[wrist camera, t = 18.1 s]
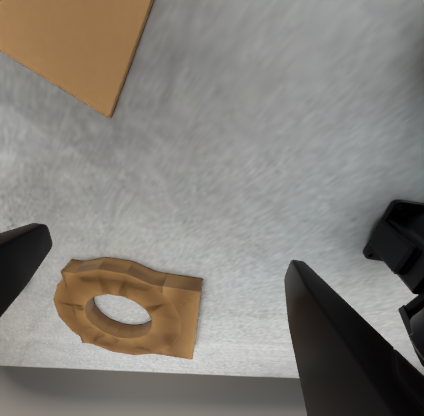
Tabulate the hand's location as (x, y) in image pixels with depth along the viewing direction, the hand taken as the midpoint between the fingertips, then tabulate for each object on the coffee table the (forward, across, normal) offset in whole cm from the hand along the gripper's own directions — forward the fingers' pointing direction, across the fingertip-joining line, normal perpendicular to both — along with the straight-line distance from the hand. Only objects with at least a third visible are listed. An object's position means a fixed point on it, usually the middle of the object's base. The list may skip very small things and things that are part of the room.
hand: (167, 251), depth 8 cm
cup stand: (+13, +8, +22) cm, 27 cm away
